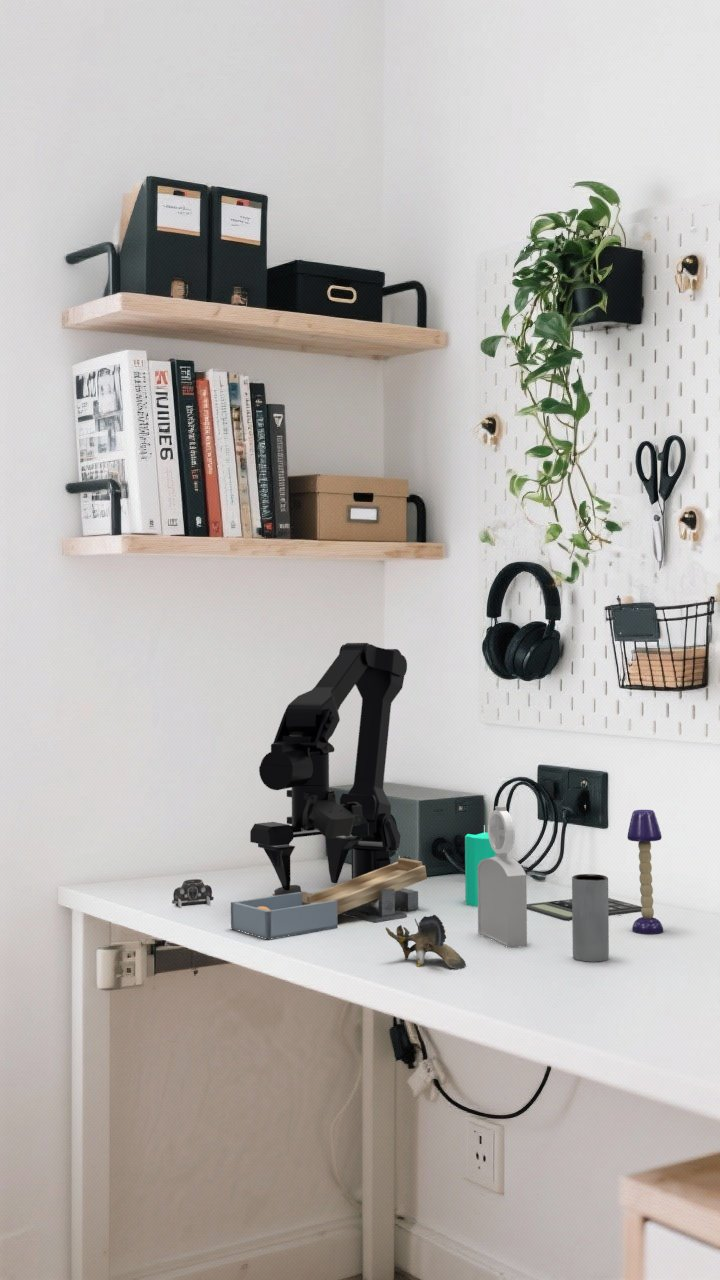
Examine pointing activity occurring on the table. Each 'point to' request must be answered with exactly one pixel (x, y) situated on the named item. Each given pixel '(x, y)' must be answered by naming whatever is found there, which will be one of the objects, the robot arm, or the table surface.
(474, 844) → the candle
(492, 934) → the gravestone
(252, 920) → the tray
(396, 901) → the stand
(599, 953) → the planter
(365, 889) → the lever
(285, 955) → the table surface
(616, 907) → the calculator
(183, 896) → the car cutout
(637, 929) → the toy lamp
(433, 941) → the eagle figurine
